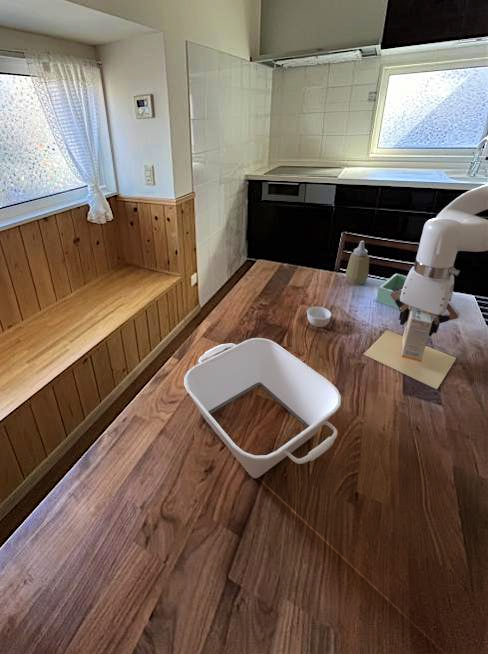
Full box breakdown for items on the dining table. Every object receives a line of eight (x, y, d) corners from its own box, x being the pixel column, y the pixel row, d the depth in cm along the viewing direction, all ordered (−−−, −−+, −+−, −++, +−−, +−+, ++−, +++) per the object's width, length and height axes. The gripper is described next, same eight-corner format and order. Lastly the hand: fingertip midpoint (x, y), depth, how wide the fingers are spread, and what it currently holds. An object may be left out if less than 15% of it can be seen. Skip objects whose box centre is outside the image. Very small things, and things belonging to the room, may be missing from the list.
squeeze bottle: (350, 276, 139) (356, 235, 132) (370, 282, 134) (378, 240, 126) (340, 283, 135) (346, 241, 127) (360, 290, 129) (368, 247, 122)
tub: (360, 453, 71) (370, 409, 65) (266, 536, 58) (269, 490, 53) (251, 361, 97) (252, 325, 92) (171, 405, 85) (167, 366, 80)
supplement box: (401, 340, 98) (410, 301, 92) (420, 344, 95) (431, 306, 90) (400, 357, 91) (410, 317, 86) (421, 363, 89) (433, 322, 84)
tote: (430, 300, 120) (434, 284, 117) (415, 317, 112) (419, 300, 109) (392, 288, 129) (395, 273, 126) (375, 302, 121) (378, 287, 118)
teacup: (337, 334, 106) (339, 322, 104) (304, 333, 108) (305, 321, 106) (330, 316, 115) (331, 304, 113) (299, 315, 117) (300, 303, 115)
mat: (455, 360, 93) (456, 358, 92) (436, 392, 84) (437, 389, 83) (386, 332, 106) (386, 329, 105) (362, 356, 96) (363, 354, 96)
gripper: (480, 274, 79) (460, 336, 86) (400, 254, 91) (388, 310, 99) (471, 285, 75) (450, 350, 82) (388, 263, 87) (377, 320, 94)
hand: (416, 327), depth 90 cm, fingers closed on supplement box, 6 cm apart
